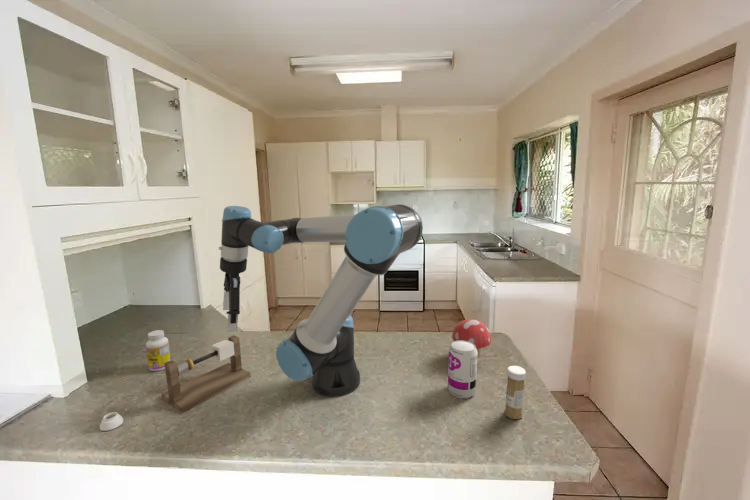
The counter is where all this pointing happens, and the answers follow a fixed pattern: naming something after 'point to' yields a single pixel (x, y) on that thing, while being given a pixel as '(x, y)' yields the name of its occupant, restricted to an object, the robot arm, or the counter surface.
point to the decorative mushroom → (472, 334)
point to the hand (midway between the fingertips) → (229, 319)
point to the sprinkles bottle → (515, 392)
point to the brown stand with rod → (202, 380)
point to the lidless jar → (111, 421)
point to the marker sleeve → (223, 349)
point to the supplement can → (462, 369)
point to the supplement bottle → (157, 350)
